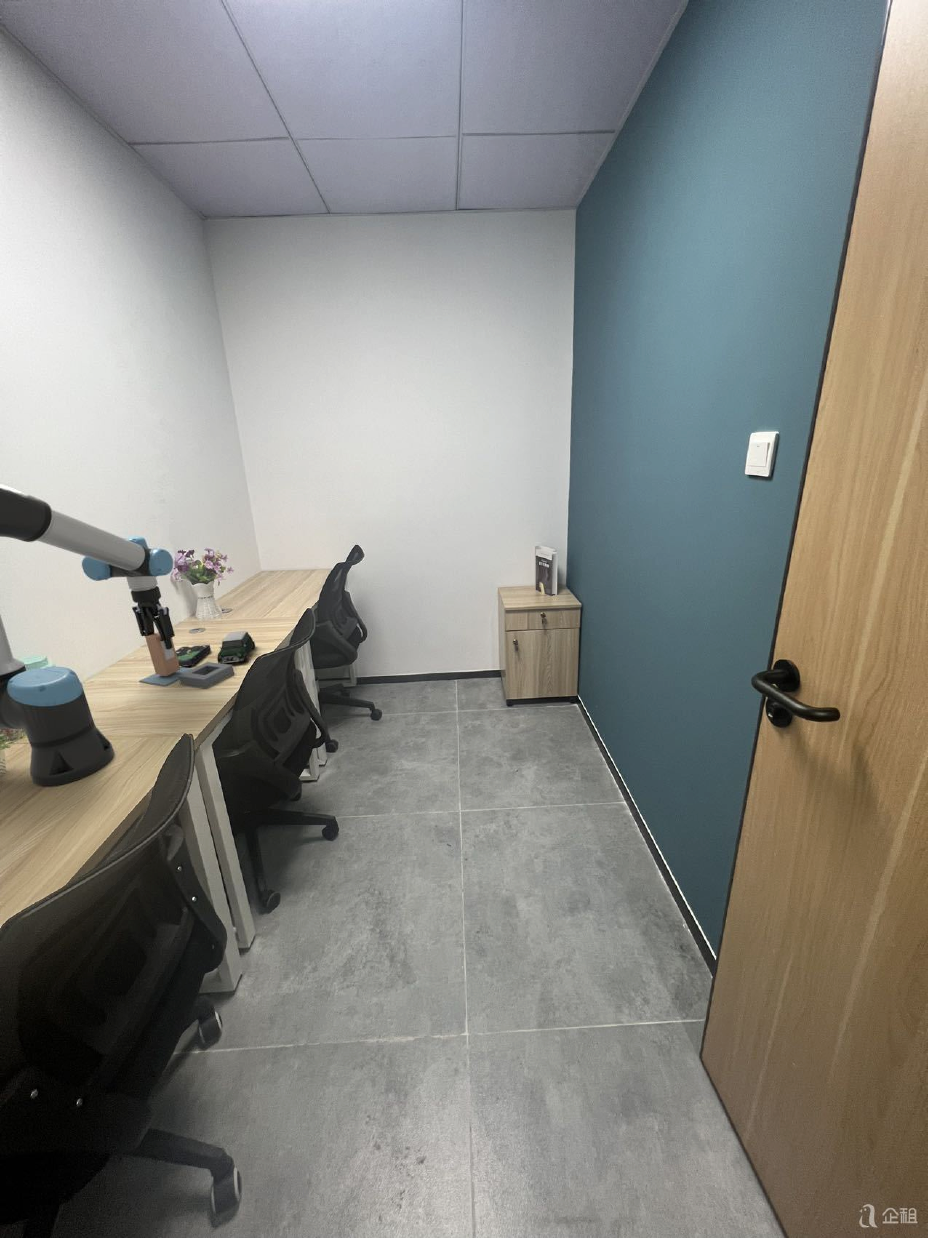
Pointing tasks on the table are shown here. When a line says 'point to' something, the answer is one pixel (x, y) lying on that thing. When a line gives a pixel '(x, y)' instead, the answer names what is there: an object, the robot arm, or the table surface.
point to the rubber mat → (164, 678)
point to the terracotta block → (161, 656)
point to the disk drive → (191, 654)
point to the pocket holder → (206, 674)
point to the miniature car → (236, 647)
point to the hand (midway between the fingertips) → (163, 657)
